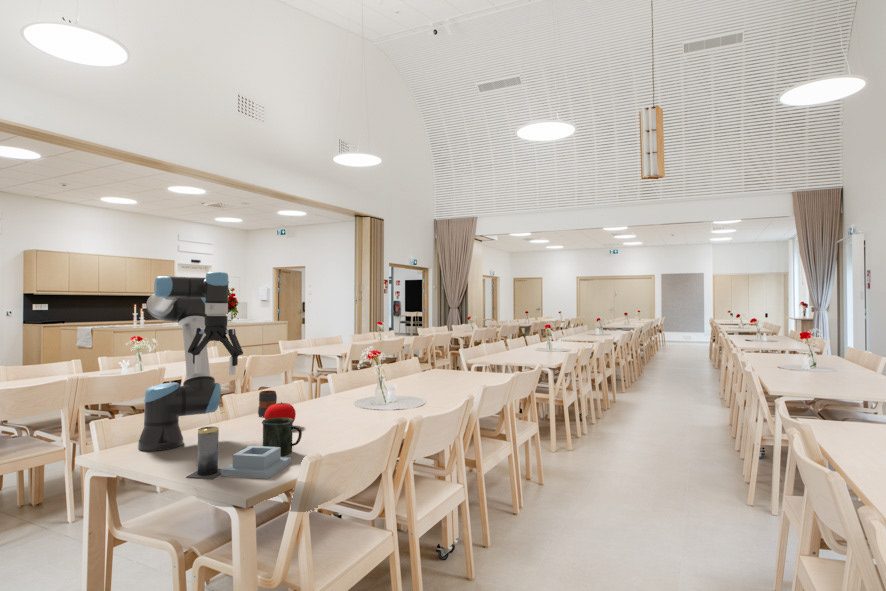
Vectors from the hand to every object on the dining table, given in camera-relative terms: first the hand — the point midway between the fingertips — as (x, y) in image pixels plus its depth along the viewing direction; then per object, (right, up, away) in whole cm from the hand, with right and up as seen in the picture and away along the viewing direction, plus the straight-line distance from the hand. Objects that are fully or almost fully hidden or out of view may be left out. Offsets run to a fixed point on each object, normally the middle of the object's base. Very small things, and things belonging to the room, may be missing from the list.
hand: (214, 374), depth 184 cm
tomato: (+10, -31, +43) cm, 54 cm away
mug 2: (-4, -31, +68) cm, 75 cm away
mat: (+7, -29, -20) cm, 36 cm away
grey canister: (+7, -29, -20) cm, 36 cm away
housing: (+21, -29, -15) cm, 39 cm away
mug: (+23, -30, +3) cm, 38 cm away
